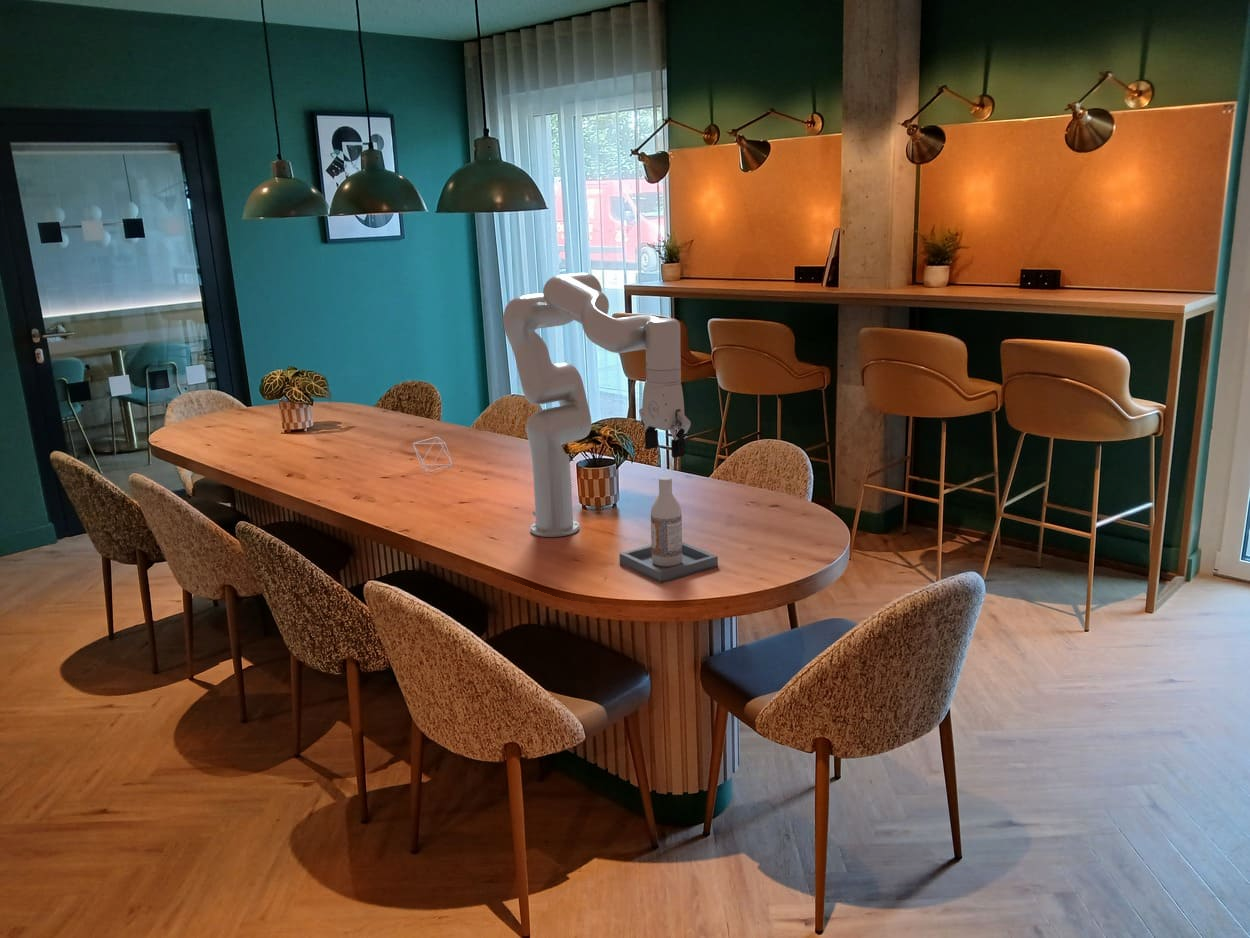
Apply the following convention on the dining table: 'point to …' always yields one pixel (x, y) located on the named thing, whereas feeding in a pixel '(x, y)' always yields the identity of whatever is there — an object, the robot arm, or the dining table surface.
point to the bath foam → (666, 527)
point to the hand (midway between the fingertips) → (664, 452)
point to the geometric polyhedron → (429, 450)
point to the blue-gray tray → (691, 564)
